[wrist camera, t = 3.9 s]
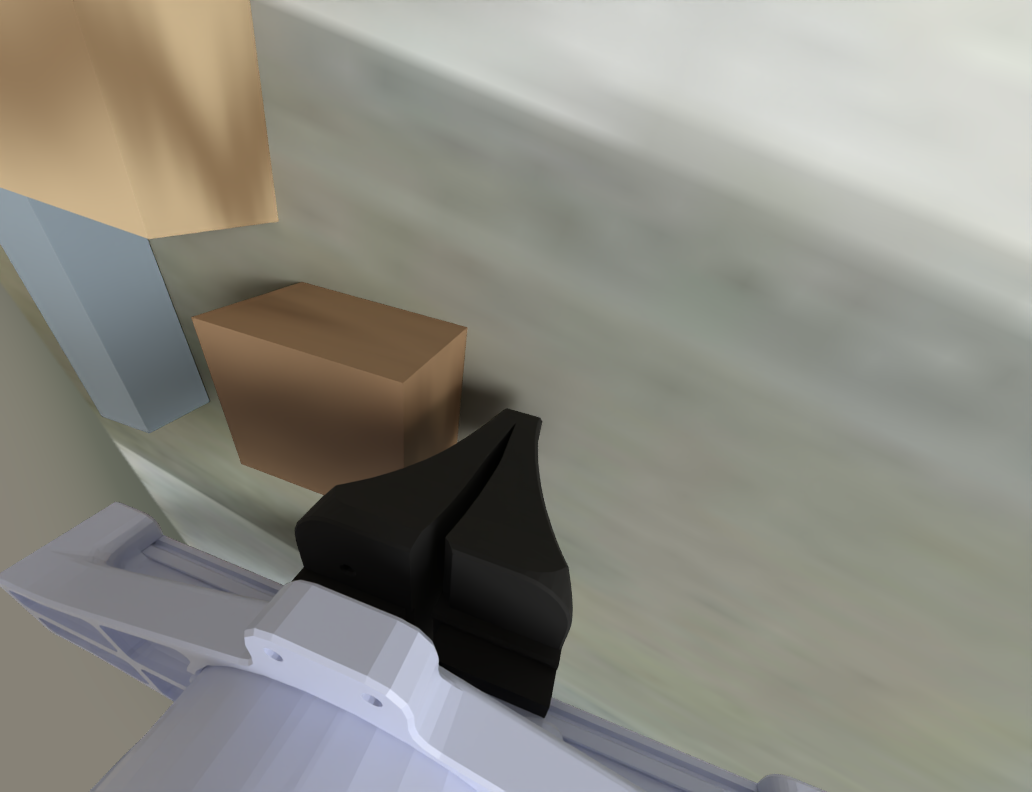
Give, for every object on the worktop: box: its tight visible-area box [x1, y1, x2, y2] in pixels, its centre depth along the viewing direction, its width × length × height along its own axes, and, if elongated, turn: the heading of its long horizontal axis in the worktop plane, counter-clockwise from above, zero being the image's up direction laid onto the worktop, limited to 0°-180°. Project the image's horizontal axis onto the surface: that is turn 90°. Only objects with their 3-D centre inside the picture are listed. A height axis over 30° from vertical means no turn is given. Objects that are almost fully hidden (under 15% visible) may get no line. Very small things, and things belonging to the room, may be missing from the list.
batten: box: [0, 188, 210, 433], centre depth 14 cm, size 18×3×3 cm, turn 172°
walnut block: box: [191, 282, 467, 495], centre depth 14 cm, size 6×7×4 cm
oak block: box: [0, 0, 278, 239], centre depth 11 cm, size 6×7×4 cm
